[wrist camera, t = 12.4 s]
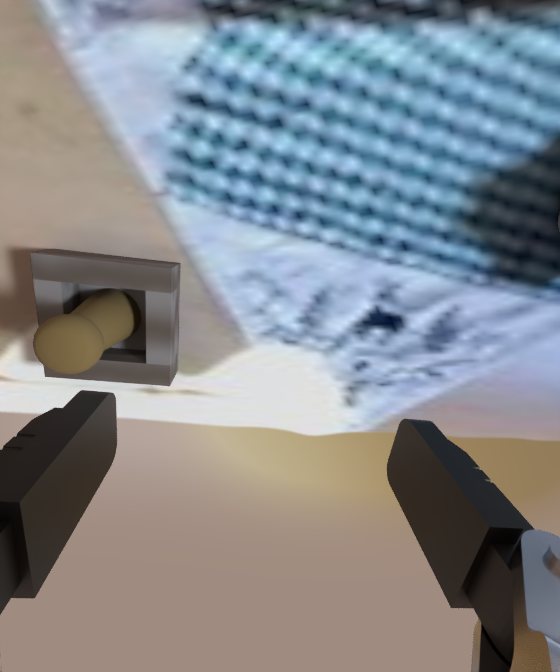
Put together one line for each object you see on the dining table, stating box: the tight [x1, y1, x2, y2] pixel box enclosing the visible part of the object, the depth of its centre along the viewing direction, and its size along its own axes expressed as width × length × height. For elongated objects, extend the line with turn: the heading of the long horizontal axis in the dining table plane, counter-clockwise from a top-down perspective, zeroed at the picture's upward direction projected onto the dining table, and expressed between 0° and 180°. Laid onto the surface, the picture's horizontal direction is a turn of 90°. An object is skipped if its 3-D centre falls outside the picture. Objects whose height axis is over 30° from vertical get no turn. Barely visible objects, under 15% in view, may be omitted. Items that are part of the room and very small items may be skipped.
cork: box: [33, 288, 141, 374], centre depth 32 cm, size 6×6×11 cm
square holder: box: [30, 249, 180, 386], centre depth 36 cm, size 13×13×4 cm
